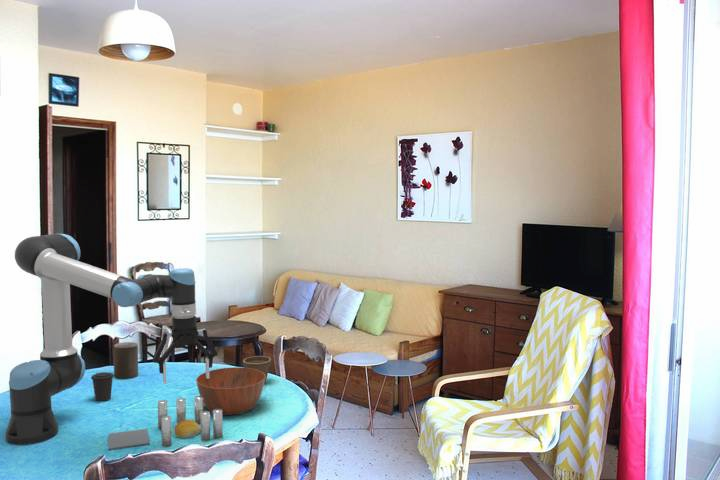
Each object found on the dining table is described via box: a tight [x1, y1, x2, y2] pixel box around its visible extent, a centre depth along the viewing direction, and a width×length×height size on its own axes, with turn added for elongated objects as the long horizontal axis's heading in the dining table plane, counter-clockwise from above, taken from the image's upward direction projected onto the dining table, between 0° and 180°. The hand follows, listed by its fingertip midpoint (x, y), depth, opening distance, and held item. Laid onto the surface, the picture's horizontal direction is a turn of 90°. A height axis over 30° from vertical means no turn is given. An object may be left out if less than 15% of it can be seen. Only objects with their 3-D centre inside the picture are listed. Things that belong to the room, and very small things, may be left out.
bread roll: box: [173, 419, 201, 439], centre depth 202 cm, size 8×9×4 cm
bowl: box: [195, 366, 265, 416], centre depth 225 cm, size 25×25×11 cm
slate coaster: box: [108, 428, 150, 451], centre depth 196 cm, size 12×12×1 cm
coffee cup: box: [90, 371, 114, 403], centre depth 233 cm, size 8×8×10 cm
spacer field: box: [157, 395, 224, 448], centre depth 202 cm, size 19×18×9 cm
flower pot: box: [242, 355, 272, 385], centre depth 253 cm, size 12×11×10 cm
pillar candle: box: [113, 341, 139, 380], centre depth 261 cm, size 10×10×15 cm
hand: (186, 380), depth 200 cm, fingers open, 13 cm apart
